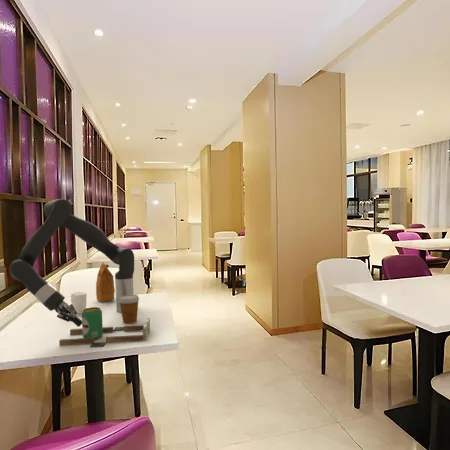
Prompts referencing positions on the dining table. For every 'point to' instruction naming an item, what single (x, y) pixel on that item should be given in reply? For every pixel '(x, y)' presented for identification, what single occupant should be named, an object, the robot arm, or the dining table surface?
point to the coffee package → (104, 284)
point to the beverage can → (92, 323)
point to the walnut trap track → (111, 338)
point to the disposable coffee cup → (129, 308)
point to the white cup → (78, 301)
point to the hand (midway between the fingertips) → (81, 324)
